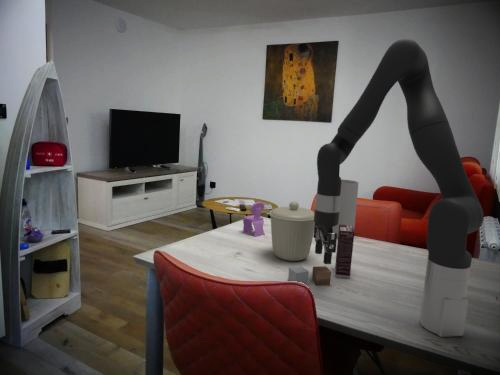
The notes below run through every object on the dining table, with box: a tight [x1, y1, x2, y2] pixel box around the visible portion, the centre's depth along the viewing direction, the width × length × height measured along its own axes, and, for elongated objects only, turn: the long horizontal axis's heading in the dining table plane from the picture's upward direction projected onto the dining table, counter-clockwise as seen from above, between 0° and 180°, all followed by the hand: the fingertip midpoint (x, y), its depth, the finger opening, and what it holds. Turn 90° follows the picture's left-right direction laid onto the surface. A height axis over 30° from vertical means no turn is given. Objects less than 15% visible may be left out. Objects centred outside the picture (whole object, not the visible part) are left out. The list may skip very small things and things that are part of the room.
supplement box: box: [334, 224, 355, 279], centre depth 121 cm, size 9×5×16 cm, turn 168°
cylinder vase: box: [333, 179, 359, 239], centre depth 164 cm, size 12×12×25 cm
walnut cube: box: [311, 265, 332, 287], centre depth 114 cm, size 4×4×4 cm
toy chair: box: [242, 201, 266, 238], centre depth 162 cm, size 8×9×15 cm
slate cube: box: [287, 265, 310, 286], centre depth 113 cm, size 4×4×4 cm
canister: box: [268, 201, 315, 262], centre depth 134 cm, size 18×18×21 cm
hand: (322, 258), depth 114 cm, fingers open, 8 cm apart
